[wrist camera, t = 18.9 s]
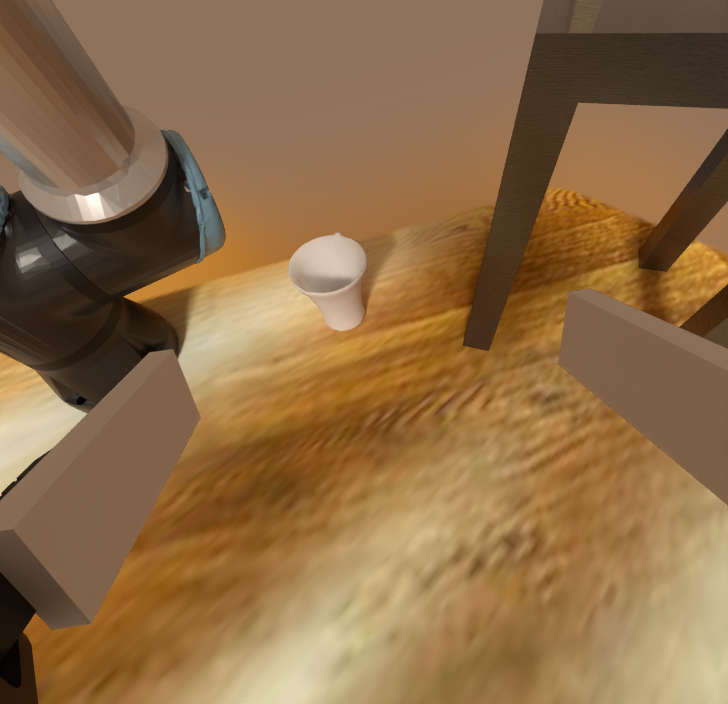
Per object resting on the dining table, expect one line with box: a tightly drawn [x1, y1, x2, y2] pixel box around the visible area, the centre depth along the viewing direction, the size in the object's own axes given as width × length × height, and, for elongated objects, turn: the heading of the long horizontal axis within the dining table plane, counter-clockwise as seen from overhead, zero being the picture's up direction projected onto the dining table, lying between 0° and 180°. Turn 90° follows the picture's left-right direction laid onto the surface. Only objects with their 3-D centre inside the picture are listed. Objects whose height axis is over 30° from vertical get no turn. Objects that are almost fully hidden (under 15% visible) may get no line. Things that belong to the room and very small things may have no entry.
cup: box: [288, 232, 368, 331], centre depth 44 cm, size 9×9×10 cm
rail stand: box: [463, 0, 728, 351], centre depth 32 cm, size 20×22×31 cm
